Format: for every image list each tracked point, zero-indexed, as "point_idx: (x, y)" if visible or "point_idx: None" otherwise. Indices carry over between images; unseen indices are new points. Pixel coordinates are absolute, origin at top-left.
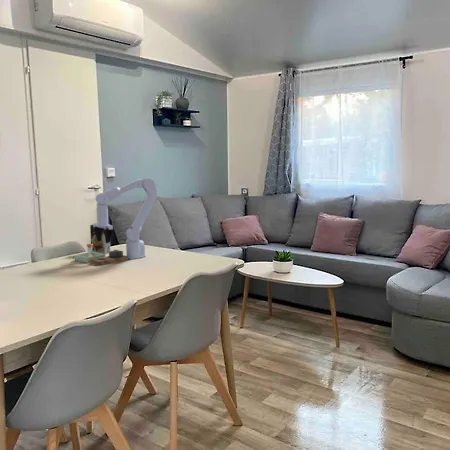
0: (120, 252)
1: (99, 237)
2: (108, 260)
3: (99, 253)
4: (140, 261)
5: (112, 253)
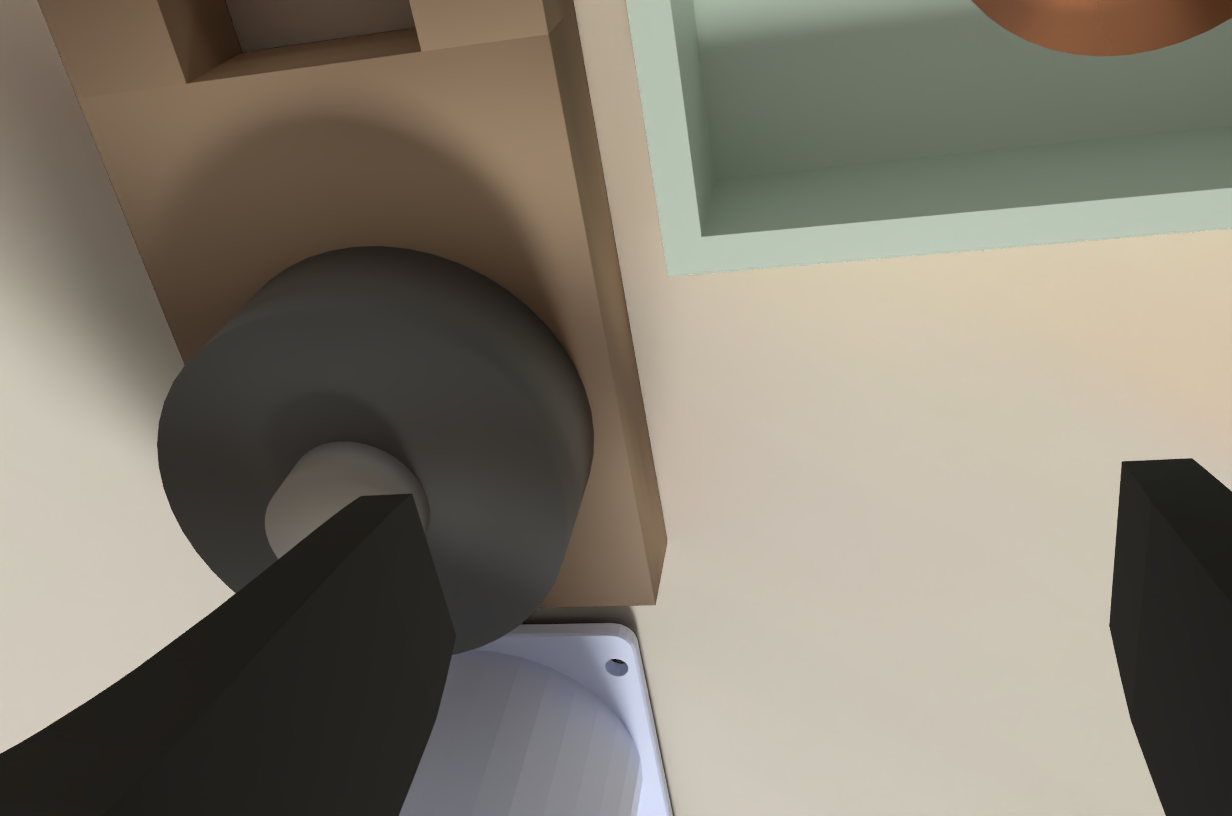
0: (204, 535)
1: (1178, 694)
2: (55, 23)
3: (957, 211)
4: (59, 623)
5: (224, 332)
